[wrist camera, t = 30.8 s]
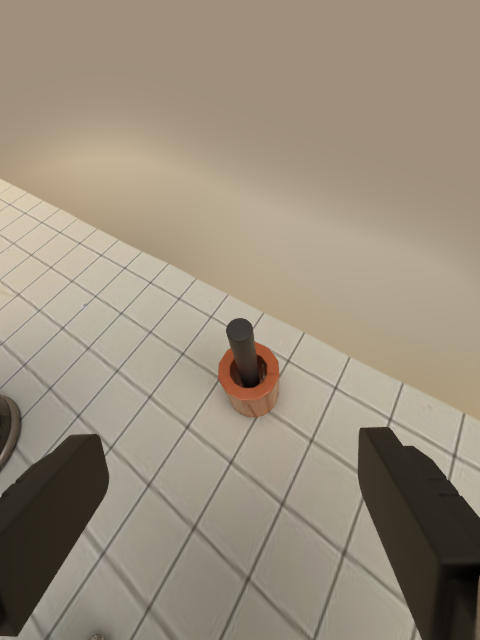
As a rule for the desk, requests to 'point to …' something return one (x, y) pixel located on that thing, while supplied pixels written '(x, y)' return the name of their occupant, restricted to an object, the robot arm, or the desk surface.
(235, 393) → the pen holder
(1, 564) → the robot arm
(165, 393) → the desk surface
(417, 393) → the desk surface
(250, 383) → the dark grey rod
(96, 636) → the electronic device
